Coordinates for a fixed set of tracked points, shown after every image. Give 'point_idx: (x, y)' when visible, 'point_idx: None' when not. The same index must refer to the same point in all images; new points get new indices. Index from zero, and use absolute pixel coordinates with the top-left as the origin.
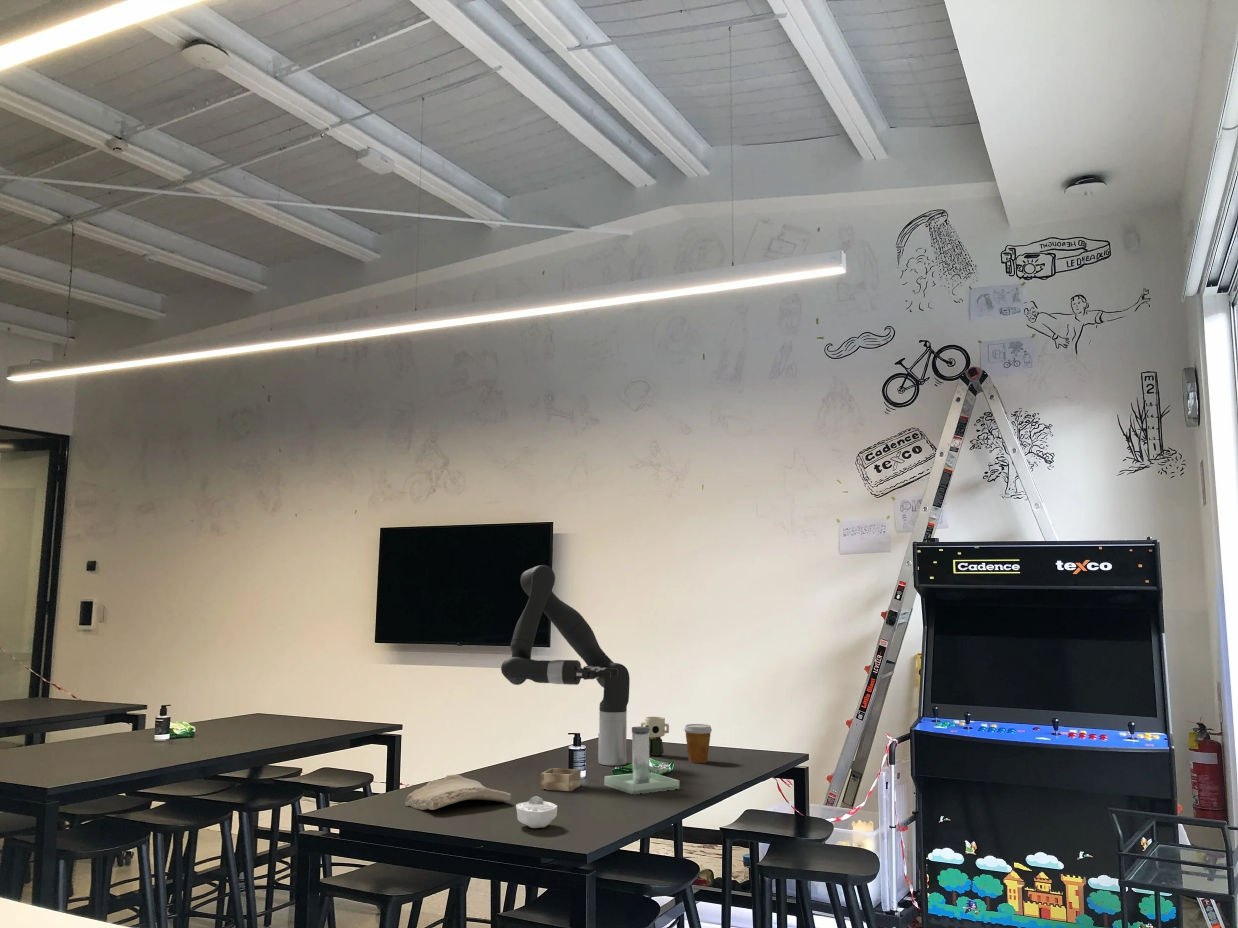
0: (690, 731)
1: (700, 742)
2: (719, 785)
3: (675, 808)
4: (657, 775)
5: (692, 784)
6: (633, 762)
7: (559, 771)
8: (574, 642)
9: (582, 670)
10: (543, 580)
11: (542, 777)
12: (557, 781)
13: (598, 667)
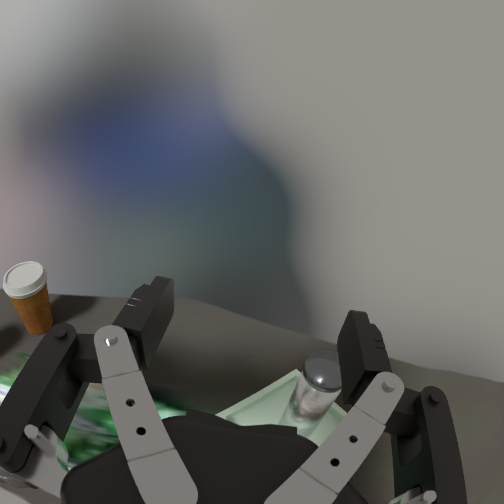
0: (33, 292)
1: (47, 297)
2: (247, 329)
3: (415, 370)
4: (252, 402)
5: (246, 360)
6: (316, 425)
7: None
8: None
9: (461, 474)
10: None
11: None
12: None
13: (145, 382)
